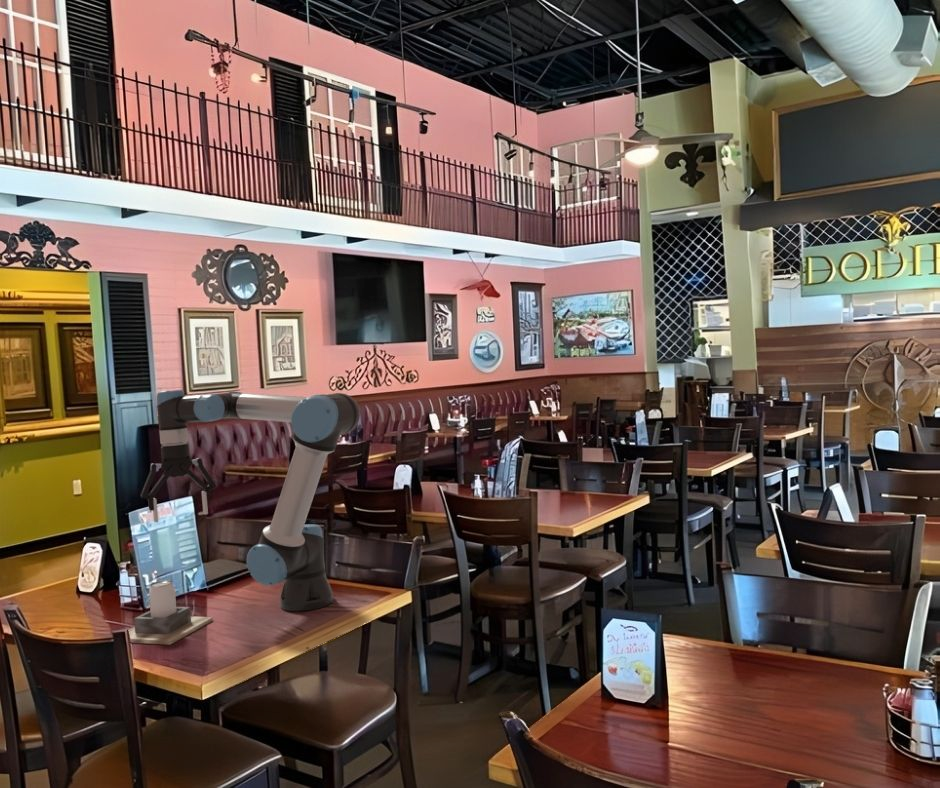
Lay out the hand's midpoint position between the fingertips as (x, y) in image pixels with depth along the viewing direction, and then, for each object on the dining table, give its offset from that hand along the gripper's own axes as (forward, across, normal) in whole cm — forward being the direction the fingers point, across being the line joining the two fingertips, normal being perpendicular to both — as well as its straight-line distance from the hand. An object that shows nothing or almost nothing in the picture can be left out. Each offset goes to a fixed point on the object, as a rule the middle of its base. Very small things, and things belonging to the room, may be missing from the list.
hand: (181, 517), depth 221 cm
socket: (+28, +9, +11) cm, 31 cm away
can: (+27, +9, +11) cm, 31 cm away
